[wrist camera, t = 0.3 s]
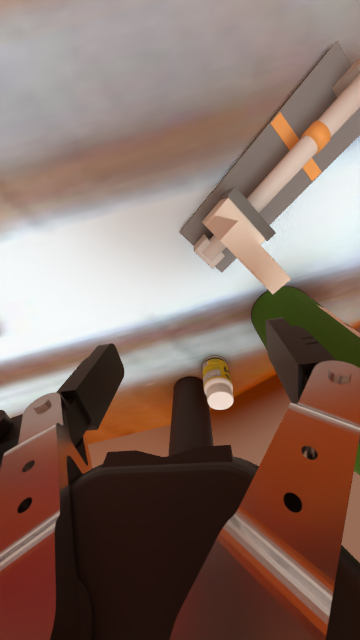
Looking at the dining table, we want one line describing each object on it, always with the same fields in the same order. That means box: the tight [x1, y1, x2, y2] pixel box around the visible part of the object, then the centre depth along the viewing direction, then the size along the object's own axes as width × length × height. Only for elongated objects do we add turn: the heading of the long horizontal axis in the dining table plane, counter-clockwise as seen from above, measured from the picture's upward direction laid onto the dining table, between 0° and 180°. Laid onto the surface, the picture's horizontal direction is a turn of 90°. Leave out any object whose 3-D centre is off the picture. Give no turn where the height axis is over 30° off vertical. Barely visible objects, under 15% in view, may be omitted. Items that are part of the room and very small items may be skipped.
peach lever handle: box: [202, 186, 291, 294], centre depth 19 cm, size 4×6×16 cm
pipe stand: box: [180, 41, 360, 272], centre depth 23 cm, size 22×8×6 cm, turn 139°
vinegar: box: [169, 377, 213, 456], centre depth 34 cm, size 7×7×20 cm
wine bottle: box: [252, 287, 360, 475], centre depth 19 cm, size 9×9×32 cm
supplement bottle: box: [202, 356, 233, 410], centre depth 36 cm, size 5×5×8 cm
